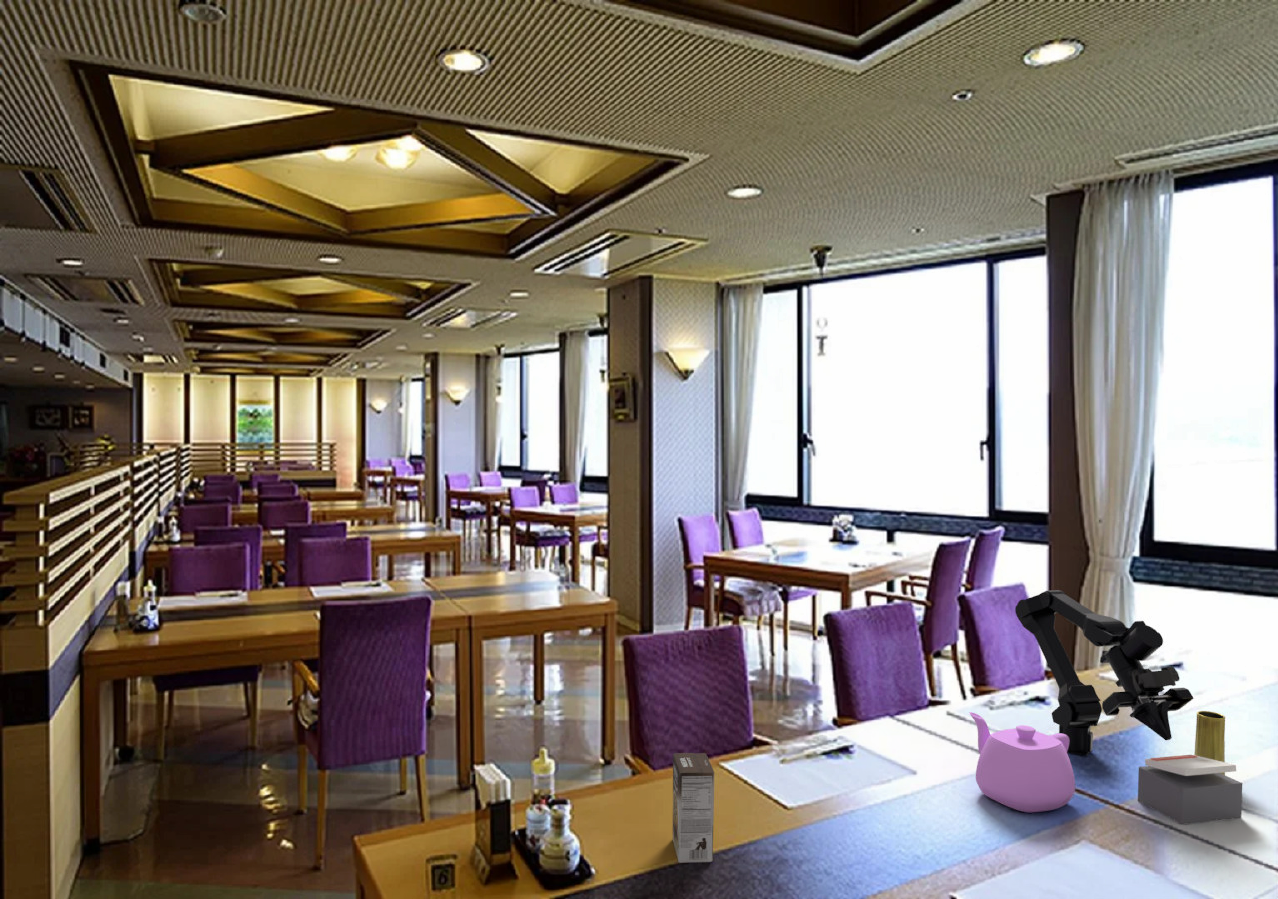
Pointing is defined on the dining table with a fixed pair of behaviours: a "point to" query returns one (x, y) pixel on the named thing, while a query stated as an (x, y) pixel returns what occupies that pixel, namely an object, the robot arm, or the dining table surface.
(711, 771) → the coffee box
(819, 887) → the dining table surface
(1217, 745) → the vase
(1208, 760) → the rocker
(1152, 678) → the robot arm
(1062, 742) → the teapot
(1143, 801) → the switch box
